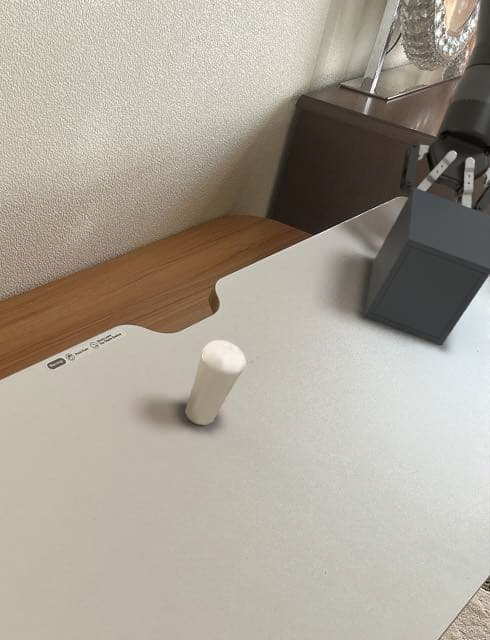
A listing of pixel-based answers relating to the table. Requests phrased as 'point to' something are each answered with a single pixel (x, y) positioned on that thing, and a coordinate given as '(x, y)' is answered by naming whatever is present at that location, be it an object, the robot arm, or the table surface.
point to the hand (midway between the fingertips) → (428, 232)
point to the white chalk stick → (214, 380)
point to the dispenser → (429, 266)
